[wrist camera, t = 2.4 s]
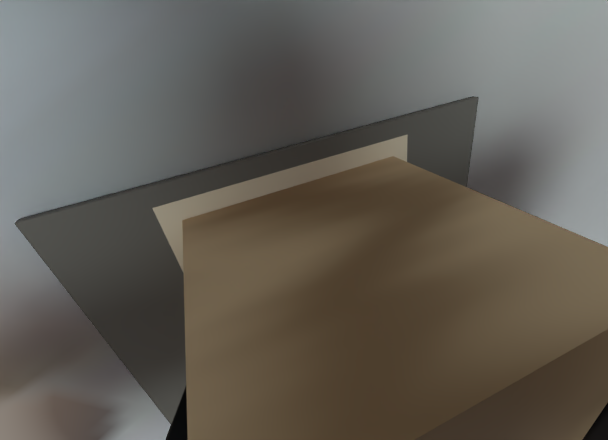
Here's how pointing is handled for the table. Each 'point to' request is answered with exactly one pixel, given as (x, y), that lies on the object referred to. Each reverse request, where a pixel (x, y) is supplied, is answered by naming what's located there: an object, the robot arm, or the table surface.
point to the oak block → (391, 315)
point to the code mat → (199, 200)
